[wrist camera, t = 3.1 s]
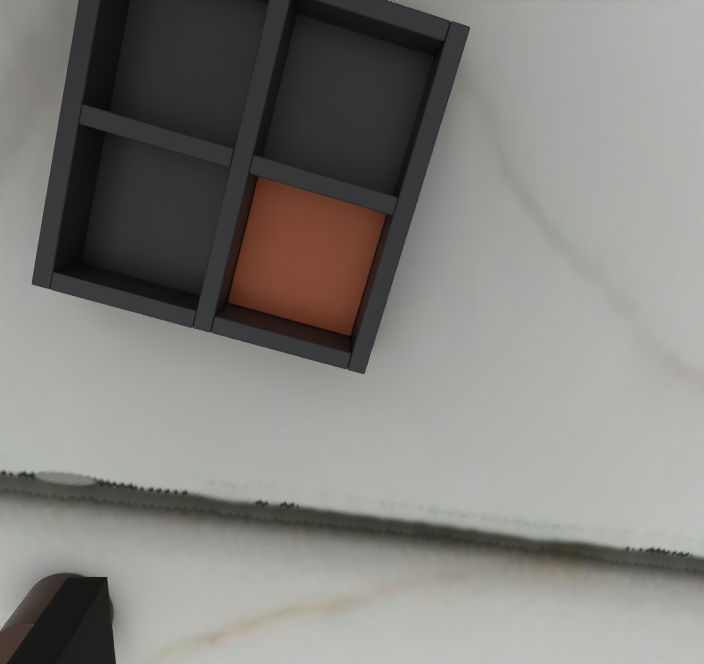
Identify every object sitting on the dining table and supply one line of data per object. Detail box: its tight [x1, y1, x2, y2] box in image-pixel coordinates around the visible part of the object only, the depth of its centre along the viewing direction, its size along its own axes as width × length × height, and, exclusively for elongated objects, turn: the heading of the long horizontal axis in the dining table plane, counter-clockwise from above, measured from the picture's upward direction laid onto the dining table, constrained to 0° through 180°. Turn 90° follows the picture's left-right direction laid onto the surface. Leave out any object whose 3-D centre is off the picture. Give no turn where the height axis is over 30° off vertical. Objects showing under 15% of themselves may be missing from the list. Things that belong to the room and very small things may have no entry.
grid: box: [32, 0, 470, 374], centre depth 27 cm, size 15×15×4 cm
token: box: [0, 574, 113, 664], centre depth 32 cm, size 5×5×4 cm
